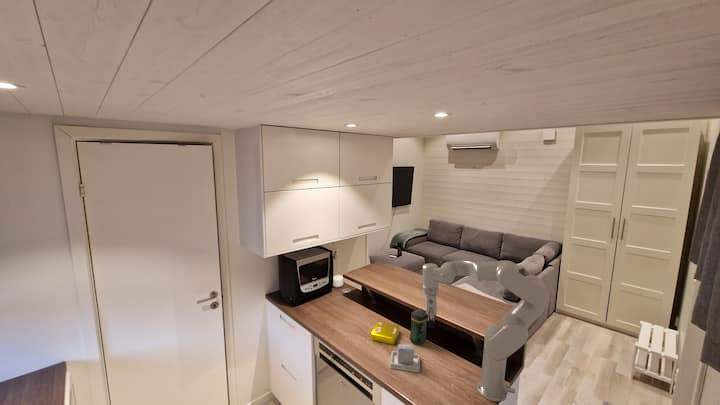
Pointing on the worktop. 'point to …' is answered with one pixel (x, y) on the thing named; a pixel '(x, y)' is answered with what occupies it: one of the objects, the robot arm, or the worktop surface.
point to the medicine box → (405, 354)
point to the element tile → (385, 333)
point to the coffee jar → (418, 326)
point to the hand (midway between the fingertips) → (430, 322)
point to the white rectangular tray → (408, 367)
